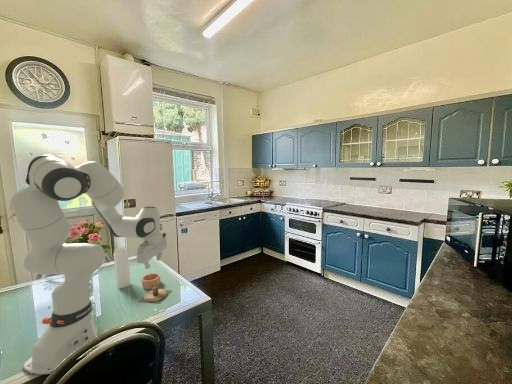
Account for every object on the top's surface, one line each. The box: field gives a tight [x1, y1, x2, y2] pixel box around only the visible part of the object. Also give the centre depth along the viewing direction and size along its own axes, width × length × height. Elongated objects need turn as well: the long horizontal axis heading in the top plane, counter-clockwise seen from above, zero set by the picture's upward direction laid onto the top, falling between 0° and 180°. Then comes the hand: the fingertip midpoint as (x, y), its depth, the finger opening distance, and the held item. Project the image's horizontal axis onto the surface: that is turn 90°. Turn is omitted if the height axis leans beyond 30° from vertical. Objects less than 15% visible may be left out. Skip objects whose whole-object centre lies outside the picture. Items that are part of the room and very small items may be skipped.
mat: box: [137, 289, 173, 305], centre depth 122 cm, size 12×12×1 cm
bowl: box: [140, 272, 162, 290], centre depth 133 cm, size 9×9×5 cm
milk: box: [113, 246, 131, 290], centre depth 132 cm, size 6×6×22 cm
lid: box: [143, 286, 168, 302], centre depth 122 cm, size 11×11×4 cm
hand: (153, 264), depth 120 cm, fingers open, 8 cm apart
